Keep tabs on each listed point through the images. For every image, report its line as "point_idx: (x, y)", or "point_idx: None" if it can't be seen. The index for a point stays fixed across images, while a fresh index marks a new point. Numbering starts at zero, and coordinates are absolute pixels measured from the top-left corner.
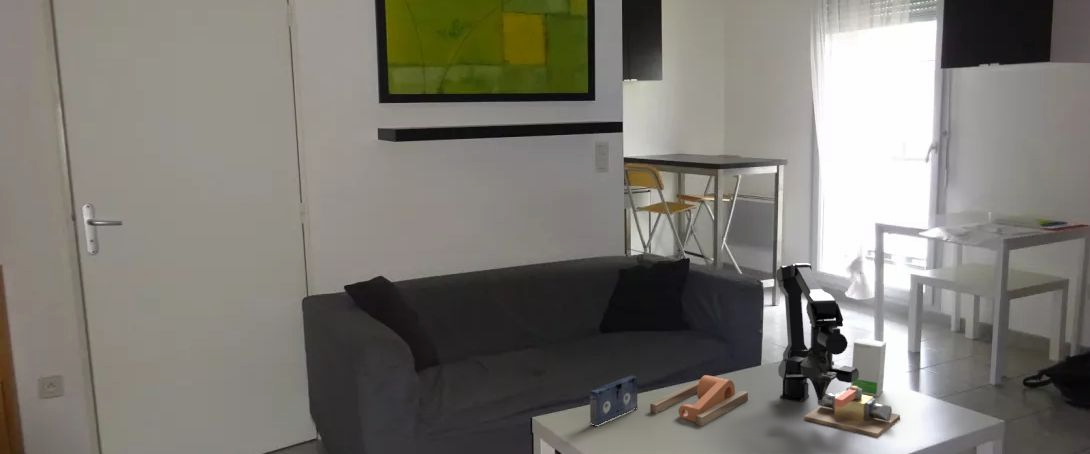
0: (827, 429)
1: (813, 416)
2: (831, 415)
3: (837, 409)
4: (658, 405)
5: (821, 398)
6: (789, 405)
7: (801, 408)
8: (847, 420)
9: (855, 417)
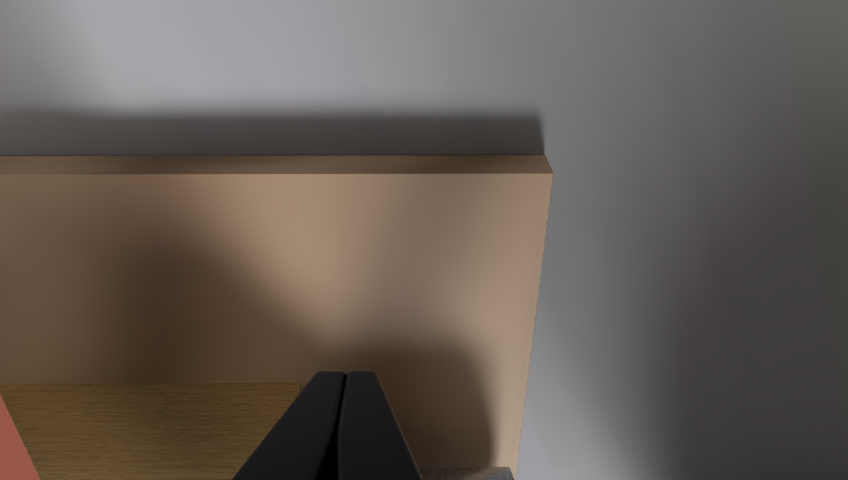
0: (181, 28)
1: (456, 227)
2: (314, 356)
3: (255, 435)
4: None
5: (306, 394)
6: (785, 401)
7: (662, 398)
8: (114, 328)
9: (64, 401)
